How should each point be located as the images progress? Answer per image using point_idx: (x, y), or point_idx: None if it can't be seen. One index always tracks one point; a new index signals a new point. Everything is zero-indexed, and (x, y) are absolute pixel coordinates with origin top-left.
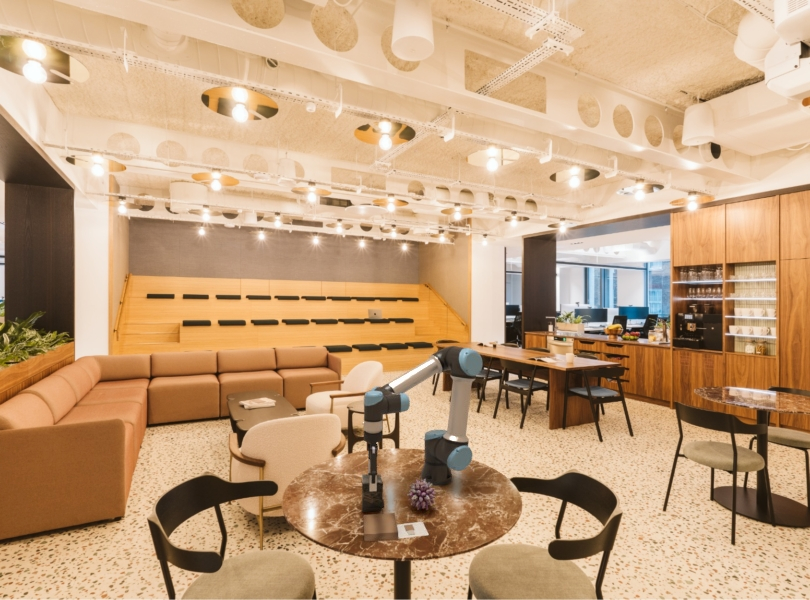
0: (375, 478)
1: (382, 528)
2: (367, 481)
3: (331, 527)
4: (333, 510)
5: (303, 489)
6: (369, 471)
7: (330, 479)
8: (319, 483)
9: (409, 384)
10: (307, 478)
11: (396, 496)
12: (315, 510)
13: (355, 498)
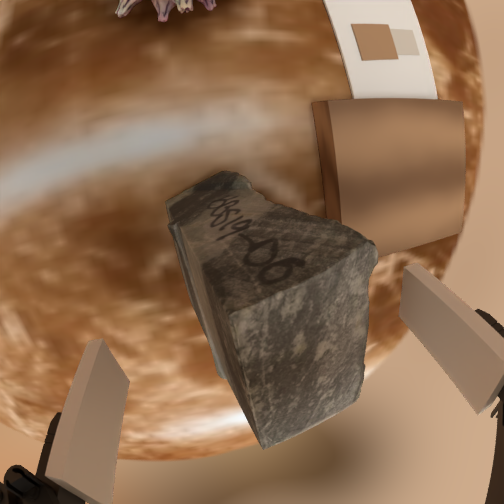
0: (487, 338)
1: (444, 165)
2: (348, 380)
3: None
4: None
5: (128, 448)
6: (117, 407)
7: (42, 407)
8: None
9: None
10: None
11: (50, 133)
12: (240, 411)
13: (119, 327)
